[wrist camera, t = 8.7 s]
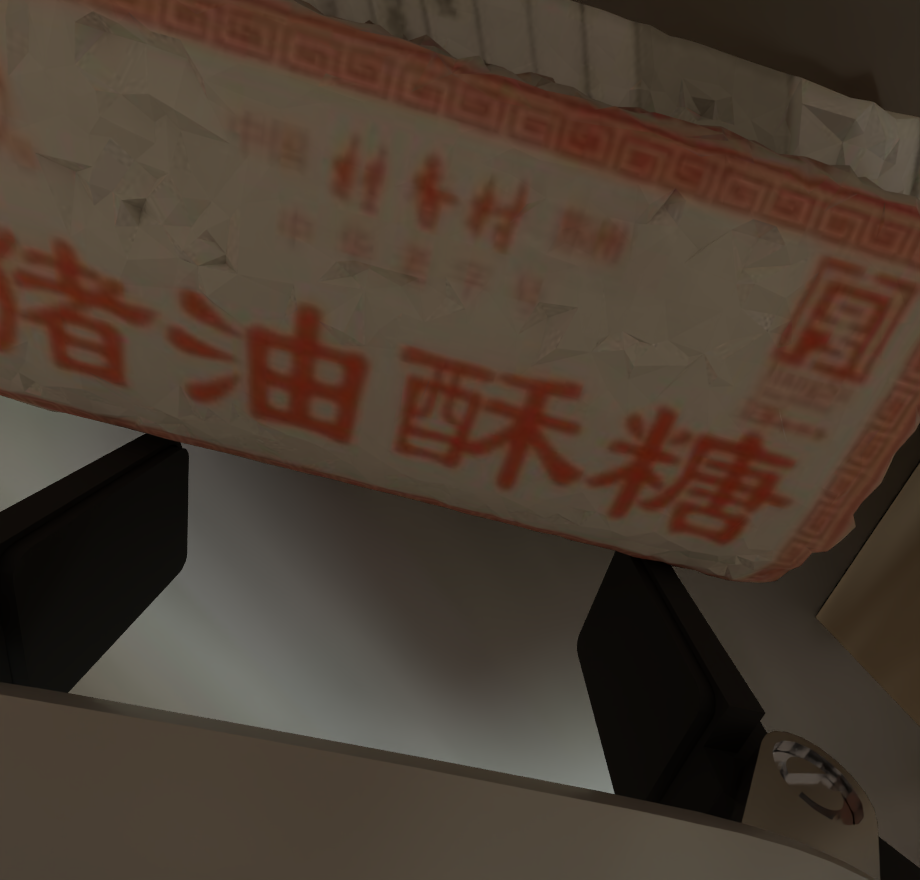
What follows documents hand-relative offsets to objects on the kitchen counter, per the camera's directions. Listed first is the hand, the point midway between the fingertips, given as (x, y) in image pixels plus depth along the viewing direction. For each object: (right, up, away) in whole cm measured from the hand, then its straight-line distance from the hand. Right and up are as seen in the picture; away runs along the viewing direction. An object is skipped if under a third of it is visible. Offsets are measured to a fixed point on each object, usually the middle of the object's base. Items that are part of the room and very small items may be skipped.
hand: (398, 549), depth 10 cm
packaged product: (0, +6, +1) cm, 6 cm away
